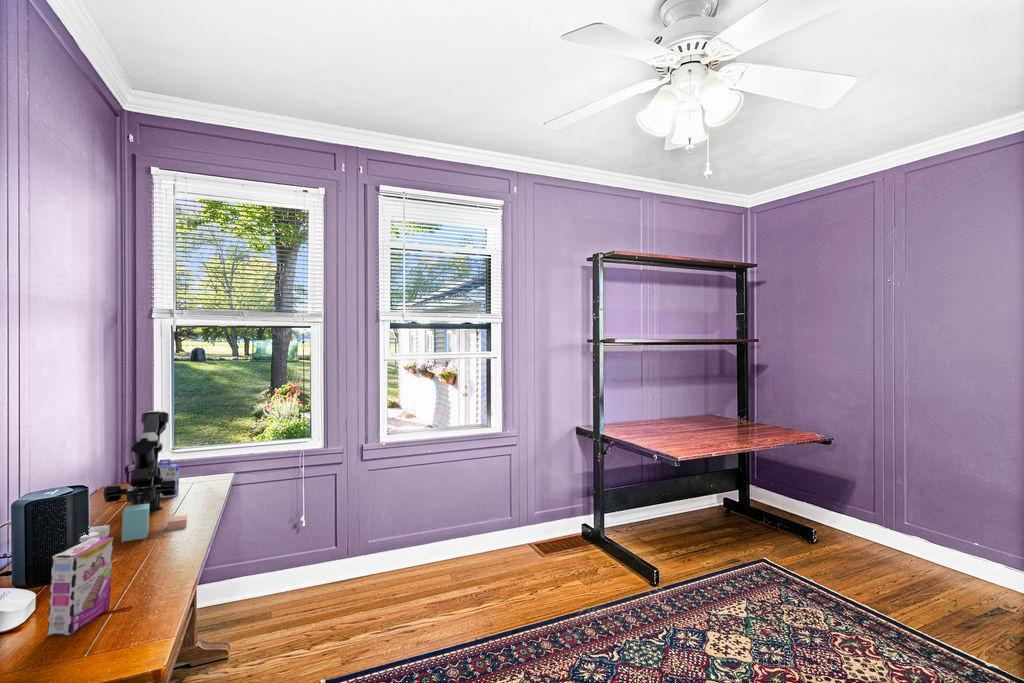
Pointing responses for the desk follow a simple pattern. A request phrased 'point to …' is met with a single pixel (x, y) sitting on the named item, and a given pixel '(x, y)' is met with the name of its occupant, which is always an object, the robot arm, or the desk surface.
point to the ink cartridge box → (169, 474)
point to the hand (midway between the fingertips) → (138, 514)
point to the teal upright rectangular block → (135, 522)
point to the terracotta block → (177, 522)
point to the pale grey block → (101, 530)
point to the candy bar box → (79, 585)
